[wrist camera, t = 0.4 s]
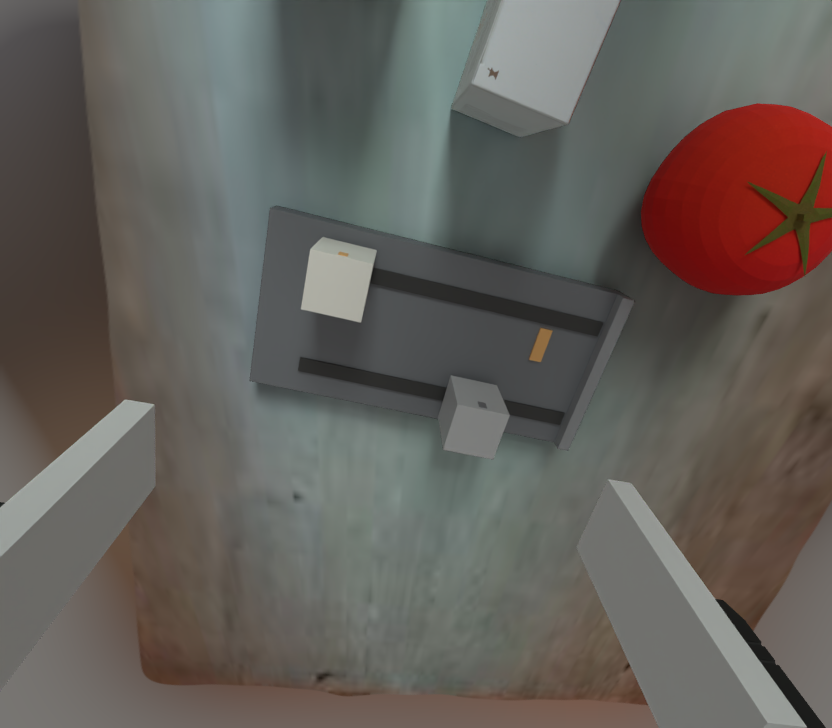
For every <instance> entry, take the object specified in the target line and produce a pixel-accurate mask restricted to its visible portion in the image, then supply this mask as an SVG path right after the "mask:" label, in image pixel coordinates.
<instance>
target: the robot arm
mask: <svg viewBox="0 0 832 728" xmlns="http://www.w3.org/2000/svg"><path fill="white" fill-rule="evenodd" d="M154 487H155V404H149V403H143V402H137V401H131V400H124V401H123V402H122V403H121V404H119V405H118V406H117V407H116V408H115V409H114V410H113V411H111V412H110V413H109V414H108V415H107V416H106V417H105V418H103V419H102V420H101V421H100V422H99V423H97V424H96V425H95V426H94V427H93V428H92V429H91V430H89V431H88V432H87V433H86V434H85V435H84V436H83V437H81V438H80V439H79V440H78V441H77V442H76V443H74V444H73V445H72V446H71V447H70V448H69V449H67V450H66V451H65V452H64V453H63V454H62V455H61V456H59V457H58V458H57V459H56V460H55V461H53V462H52V463H51V464H50V465H49V466H48V467H47V468H45V469H44V470H43V471H42V472H41V473H40V474H38V475H37V476H36V477H35V478H34V479H33V480H32V481H30V482H29V483H28V484H27V485H26V486H25V487H24V488H22V489H21V490H20V491H19V492H18V493H16V494H15V495H14V496H13V497H12V498H11V499H9V500H8V501H7V502H6V503H1V502H0V691H1V690H2V688H3V687H4V686H5V684H6V683H7V682H8V680H9V679H10V678H11V676H12V675H13V674H14V672H15V671H16V670H17V668H18V667H19V666H20V665H21V663H22V662H23V661H24V659H25V658H26V656H27V655H28V654H29V653H30V651H31V650H32V649H33V647H34V646H35V645H36V643H37V642H38V641H39V639H40V638H41V637H42V635H43V634H44V633H45V631H46V630H47V629H48V627H49V626H50V625H51V624H52V622H53V621H54V620H55V618H56V617H57V616H58V614H59V613H60V612H61V610H62V609H63V608H64V606H65V605H66V604H67V602H68V601H69V600H70V598H71V597H72V596H73V594H74V593H75V592H76V590H77V589H78V588H79V586H80V585H81V584H82V582H83V581H84V580H85V579H86V577H87V576H88V575H89V573H90V572H91V571H92V569H93V568H94V567H95V565H96V564H97V562H98V561H99V560H100V559H101V557H102V556H103V555H104V553H105V552H106V551H107V549H108V548H109V546H110V545H111V544H112V543H113V541H114V540H115V539H116V538H117V536H118V535H119V534H120V532H121V531H122V529H123V528H124V527H125V526H126V524H127V523H128V522H129V520H130V519H131V518H132V516H133V515H134V514H135V512H136V511H137V510H138V508H139V507H140V506H141V504H142V503H143V502H144V500H145V499H146V498H147V496H148V495H149V494H150V493H151V491H152V490H153V489H154ZM576 548H577V550H578V552H579V554H580V557H581V559H582V561H583V563H584V565H585V567H586V570H587V572H588V574H589V576H590V578H591V581H592V583H593V585H594V587H595V589H596V592H597V594H598V596H599V598H600V600H601V602H602V605H603V607H604V609H605V611H606V613H607V616H608V618H609V620H610V622H611V624H612V626H613V629H614V631H615V633H616V635H617V637H618V640H619V642H620V644H621V646H622V648H623V651H624V653H625V655H626V657H627V659H628V661H629V664H630V666H631V668H632V670H633V672H634V675H635V677H636V679H637V681H638V683H639V685H640V688H641V690H642V692H643V694H644V696H645V699H646V701H647V703H648V705H649V707H650V709H651V711H652V714H653V716H654V718H655V720H656V723H657V725H658V727H659V728H825V726H824V725H823V723H822V722H821V721H820V720H819V718H818V717H817V716H816V714H815V713H814V712H813V710H812V709H811V708H810V706H809V705H808V704H807V702H806V701H805V700H804V698H803V697H802V696H801V694H800V693H799V692H798V690H797V689H796V688H795V686H794V685H793V684H792V682H791V681H790V680H789V678H788V677H787V676H786V674H785V673H784V672H783V670H782V669H781V668H780V666H779V665H776V664H775V660H774V658H773V657H772V656H771V654H770V653H769V652H768V651H767V649H766V648H765V647H763V646H762V645H761V641H760V640H759V638H758V637H757V636H756V634H755V633H754V632H753V630H752V629H751V628H750V626H749V625H748V624H747V623H746V621H745V620H744V619H743V618H742V617H741V616H740V615H739V614H737V613H736V612H735V611H734V610H733V609H732V608H731V607H730V606H729V605H728V604H727V603H725V602H724V601H723V600H718V599H714V597H713V596H712V594H711V593H710V592H709V590H708V589H707V587H706V586H705V585H704V583H703V582H702V580H701V579H700V578H699V576H698V575H697V574H696V572H695V571H694V569H693V568H692V567H691V565H690V564H689V562H688V561H687V560H686V558H685V557H684V555H683V554H682V553H681V551H680V550H679V549H678V547H677V546H676V544H675V543H674V542H673V540H672V539H671V537H670V536H669V535H668V533H667V532H666V531H665V529H664V528H663V526H662V525H661V524H660V522H659V521H658V519H657V518H656V517H655V515H654V514H653V512H652V511H651V510H650V508H649V507H648V506H647V504H646V503H645V501H644V500H643V499H642V497H641V496H640V494H639V493H638V492H637V490H636V489H635V488H634V486H633V485H632V483H628V482H622V481H616V480H610V479H608V480H607V482H606V484H605V486H604V489H603V491H602V493H601V495H600V497H599V499H598V502H597V504H596V506H595V508H594V510H593V512H592V515H591V517H590V519H589V521H588V523H587V526H586V528H585V530H584V532H583V534H582V536H581V539H580V541H579V543H578V545H577V547H576Z"/></svg>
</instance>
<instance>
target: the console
mask: <svg viewBox="0 0 832 728" xmlns="http://www.w3.org/2000/svg"><path fill="white" fill-rule="evenodd" d="M322 237H325V238H329V239H333V240H337V241H342V242H346V243H350V244H354V245H358V246H362V247H366V248H370V249H374V250H377V252H376V257H375V262H374V267H373V271H372V276H371V281H370V286H369V290H368V295H367V300H366V304H365V308H364V312H363V316H362V320H361V322H356V321H352V320H347V319H343V318H338V317H334V316H329V315H325V314H320V313H316V312H311V311H307V310H302V309H301V305H302V299H303V292H304V286H305V279H306V273H307V267H308V260H309V254H310V249H311V248H312V247H313V246H314V245H315V244H316V243H317V242H318V241H319V240H320V239H321V238H322ZM634 302H635V300H633V299H631V298H629V297H628V296H626V295H624V294H623V293H621V292H619V291H617V290H613V289H609V288H605V287H601V286H597V285H593V284H589V283H585V282H581V281H577V280H573V279H569V278H565V277H561V276H557V275H553V274H549V273H545V272H541V271H537V270H533V269H529V268H525V267H521V266H517V265H513V264H509V263H505V262H501V261H497V260H493V259H489V258H485V257H481V256H477V255H473V254H469V253H465V252H461V251H457V250H453V249H449V248H445V247H441V246H437V245H432V244H428V243H424V242H420V241H416V240H412V239H408V238H404V237H400V236H396V235H392V234H388V233H384V232H380V231H376V230H372V229H368V228H364V227H360V226H356V225H352V224H348V223H344V222H340V221H336V220H332V219H328V218H324V217H320V216H316V215H312V214H308V213H304V212H300V211H296V210H292V209H288V208H284V207H280V206H275V207H272V208H270V213H269V221H268V230H267V238H266V247H265V255H264V263H263V272H262V280H261V289H260V297H259V306H258V314H257V322H256V331H255V339H254V348H253V356H252V365H251V373H250V381H252V382H257V383H262V384H267V385H272V386H277V387H282V388H287V389H292V390H297V391H302V392H307V393H312V394H317V395H322V396H327V397H332V398H337V399H342V400H347V401H352V402H357V403H362V404H367V405H372V406H376V407H381V408H386V409H391V410H396V411H401V412H406V413H411V414H416V415H421V416H426V417H431V418H436V419H438V415H439V412H440V409H441V406H442V402H443V399H444V396H445V392H446V389H447V386H448V383H449V379H450V376H451V375H452V376H456V377H461V378H466V379H470V380H475V381H480V382H484V383H489V384H494V385H497V387H498V389H499V391H500V394H501V396H502V398H503V401H504V403H505V405H506V408H507V410H508V412H509V415H510V416H509V419H508V421H507V424H506V427H505V429H504V432H505V433H510V434H515V435H520V436H525V437H530V438H535V439H540V440H545V441H550V442H554V443H555V445H556V446H557V448H558V449H562V450H567V451H568V450H569V448H570V446H571V444H572V441H573V439H574V437H575V435H576V432H577V430H578V428H579V426H580V423H581V421H582V419H583V417H584V414H585V412H586V410H587V408H588V405H589V403H590V401H591V399H592V396H593V394H594V392H595V390H596V387H597V385H598V383H599V381H600V379H601V376H602V374H603V372H604V370H605V367H606V365H607V363H608V361H609V358H610V356H611V354H612V352H613V349H614V347H615V345H616V343H617V340H618V338H619V336H620V334H621V331H622V329H623V327H624V325H625V322H626V320H627V318H628V316H629V314H630V311H631V309H632V307H633V305H634Z"/></svg>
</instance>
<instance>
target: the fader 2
mask: <svg viewBox="0 0 832 728" xmlns="http://www.w3.org/2000/svg"><path fill="white" fill-rule="evenodd" d="M509 416H510V415H509V412H508V410H507V408H506V405H505V403H504V401H503V398H502V396H501V394H500V391H499V389H498V387H497V385H494V384H489V383H484V382H480V381H475V380H470V379H466V378H461V377H456V376H452V375H451V376H450V379H449V383H448V386H447V389H446V392H445V396H444V399H443V402H442V406H441V409H440V412H439V415H438V419H439V426H440V433H441V439H442V446H443V450H446V451H452V452H457V453H462V454H467V455H472V456H477V457H483V458H488V459H494V456H495V453H496V451H497V448H498V445H499V443H500V440H501V437H502V435H503V432H504V429H505V427H506V424H507V421H508V419H509Z"/></svg>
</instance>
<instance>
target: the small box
mask: <svg viewBox="0 0 832 728" xmlns="http://www.w3.org/2000/svg"><path fill="white" fill-rule="evenodd" d="M620 2H621V0H487V2H486V5H485V8H484V11H483V14H482V17H481V20H480V23H479V26H478V29H477V32H476V35H475V38H474V41H473V44H472V47H471V50H470V53H469V56H468V59H467V62H466V65H465V68H464V71H463V74H462V77H461V80H460V83H459V86H458V89H457V92H456V95H455V97H454V100H453V103H452V106H451V109H452V110H455V111H458V112H460V113H463V114H465V115H467V116H470V117H472V118H474V119H477V120H479V121H482V122H484V123H486V124H489V125H491V126H494V127H496V128H498V129H501V130H503V131H505V132H508V133H510V134H513V135H515V136H518V137H524V136H527V135H531V134H535V133H538V132H542V131H546V130H549V129H554V128H557V127H560V126H564V125H567V124H569V122H570V119H571V117H572V115H573V112H574V110H575V108H576V105H577V103H578V101H579V98H580V96H581V94H582V91H583V89H584V86H585V84H586V82H587V79H588V77H589V75H590V72H591V70H592V68H593V65H594V63H595V61H596V58H597V56H598V54H599V51H600V49H601V46H602V44H603V42H604V39H605V37H606V35H607V32H608V30H609V28H610V25H611V23H612V21H613V18H614V16H615V13H616V11H617V9H618V6H619V4H620Z"/></svg>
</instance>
